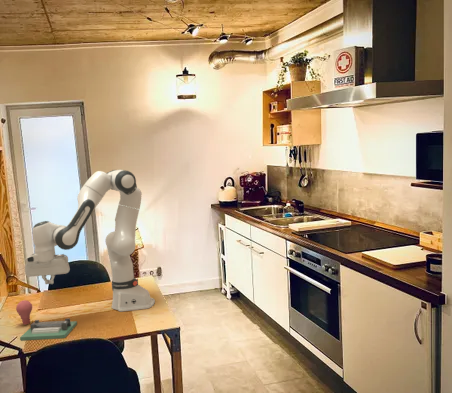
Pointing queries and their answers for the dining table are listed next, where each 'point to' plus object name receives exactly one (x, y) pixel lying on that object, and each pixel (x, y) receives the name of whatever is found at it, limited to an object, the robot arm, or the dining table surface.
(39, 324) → the steel strap
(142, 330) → the dining table surface
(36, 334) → the heat sink board
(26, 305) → the light bulb
